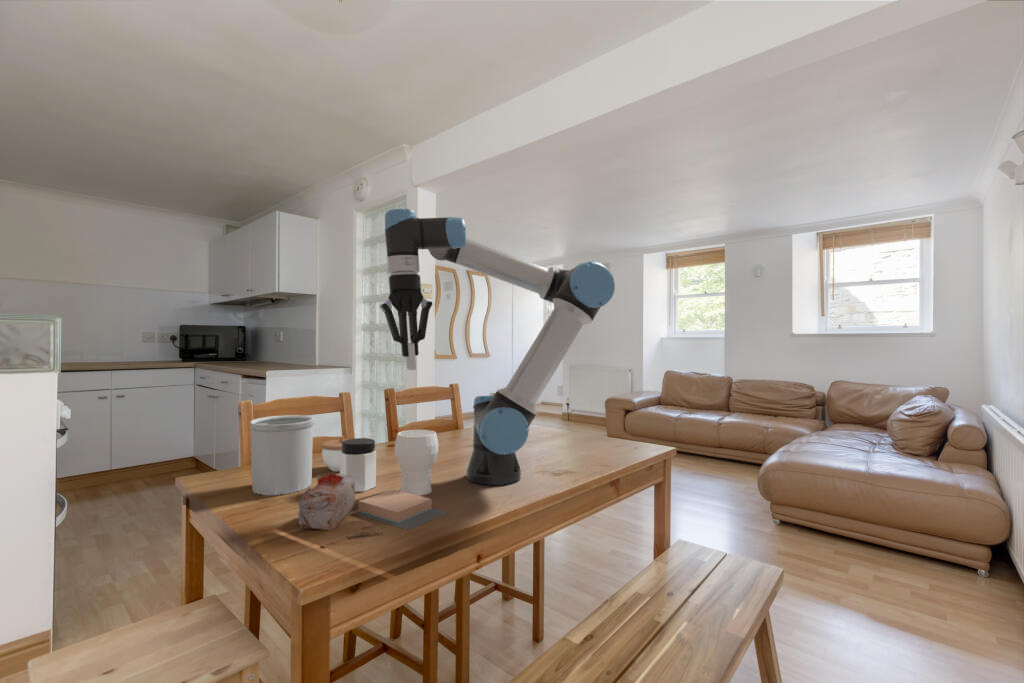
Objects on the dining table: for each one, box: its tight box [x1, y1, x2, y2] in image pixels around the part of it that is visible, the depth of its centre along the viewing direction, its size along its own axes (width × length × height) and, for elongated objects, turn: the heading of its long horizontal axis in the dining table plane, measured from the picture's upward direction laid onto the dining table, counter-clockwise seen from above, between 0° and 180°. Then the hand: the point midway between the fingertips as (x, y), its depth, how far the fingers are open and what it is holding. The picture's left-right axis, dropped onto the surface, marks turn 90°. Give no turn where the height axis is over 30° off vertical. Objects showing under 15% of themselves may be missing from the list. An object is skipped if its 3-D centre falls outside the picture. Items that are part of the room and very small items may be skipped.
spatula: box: [319, 528, 383, 550], centre depth 89 cm, size 11×4×1 cm, turn 113°
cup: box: [394, 429, 439, 496], centre depth 117 cm, size 11×11×15 cm
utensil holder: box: [249, 414, 315, 496], centre depth 121 cm, size 15×15×18 cm
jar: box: [339, 437, 377, 493], centre depth 121 cm, size 9×8×12 cm
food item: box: [298, 473, 356, 531], centre depth 98 cm, size 14×8×10 cm, turn 1°
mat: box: [354, 507, 449, 531], centre depth 102 cm, size 16×12×1 cm
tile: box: [357, 488, 432, 524], centre depth 103 cm, size 2×10×12 cm
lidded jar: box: [321, 436, 349, 472], centre depth 139 cm, size 11×11×9 cm
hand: (411, 369), depth 117 cm, fingers closed
